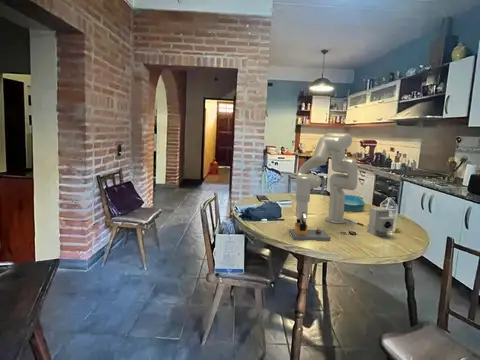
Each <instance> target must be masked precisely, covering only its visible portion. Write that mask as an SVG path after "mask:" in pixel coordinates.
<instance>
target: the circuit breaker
mask: <svg viewBox="0 0 480 360" xmlns="http://www.w3.org/2000/svg"><path fill="white" fill-rule="evenodd" d="M368 215H369V218H368V224H367V228H366V229H367V231H366V232H367V233H369V234H371V235H373V236H375V237H379V236H387V235H388V233H389V232H394V231H393V230H394V224H395V223H394V220H395V219H394V217H391V216H390V209H387V208H385V207H381V206H376V207H375V206H373V207H369V210H368Z"/></svg>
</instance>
